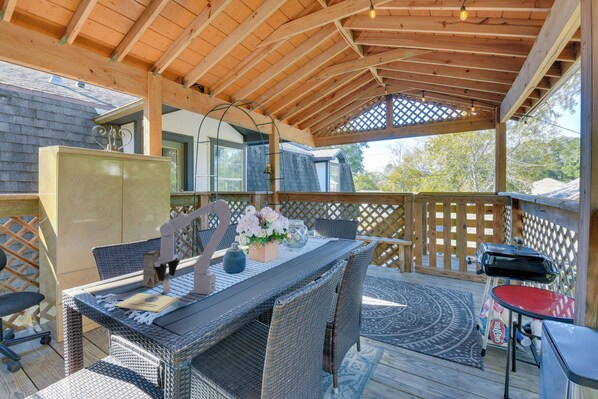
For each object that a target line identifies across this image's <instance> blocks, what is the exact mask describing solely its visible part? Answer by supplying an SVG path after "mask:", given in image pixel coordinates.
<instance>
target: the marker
mask: <svg viewBox="0 0 598 399" xmlns="http://www.w3.org/2000/svg"><path fill="white" fill-rule="evenodd" d="M171 278H172V277H171V275H170V274H169V273H166V274H165V278H164V281H163V283H162V286H163V290H162V292H163V294H169V293H170V292H171Z"/></svg>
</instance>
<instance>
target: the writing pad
mask: <svg viewBox="0 0 598 399" xmlns="http://www.w3.org/2000/svg"><path fill="white" fill-rule="evenodd" d="M179 300H181V297H177V296H168V295H161V294H151V293H142V292H139V293H136V294H134V295H132V296H130V297H128V298H127V299H125V300H122V301H120V302H118V303H116V304H114V305H113V307H114V306H118V307H117V308H124V309H131V310H138V311H146V312H151V313H152V312H154V313H160V312H162V311H163V310H165V309H167V308H168V307H169V306H171V305H173V304H174V303H176V302H177V301H179Z"/></svg>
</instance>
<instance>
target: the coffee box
mask: <svg viewBox="0 0 598 399" xmlns="http://www.w3.org/2000/svg"><path fill="white" fill-rule="evenodd" d="M160 250H161V249H153V250H150V251H147V252H144V253H143V259H142V260H143V262H142V265H143V266H142V270H143V272H142V275H143V276H142V277H143V278H142V285H143V287H148V288H155V287H157V286H160V285H163V281H159V279H158V276H157V273H156V271H155V269H154V268H153V266H154V265H155V262H156V261H157V260H159V259H158V258H159V257H160ZM163 265H164V266H167V265H168V263H165V264H163ZM167 267H168V266H167ZM165 274H167V270H166V271H165Z"/></svg>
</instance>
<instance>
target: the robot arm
mask: <svg viewBox="0 0 598 399" xmlns="http://www.w3.org/2000/svg"><path fill="white" fill-rule="evenodd" d="M230 212H231V211H230V206H229V204H228V202H227V201H226V200H225V199H222V198H220V199H217V200H216V201H211V202H209V203H206V204H205V205H203V206H201V207H199V208H197V209H195V210H194V211H192V212H191V213H188V214H187V213H179V214H178V215H177V216H176V217H174V218H173V219H171V218H170V219H169V220H168V221H167V222H164V223H163V224H162V225H160V227H159V232H160V249H159V250H160V257H159V258H158V259H159V260H157V261H156V262H155V265H154V266H153V268H154V269H155V271H156V273H157V276H158V279H159V281H164V278H165V271H166V272H167V268H168V274H170V275H171V276H172V277H174V276H175V274H176V271H177V267H178V266H179V264H180V261H181V260H180V259H179V254H175V232H177V231H180V230H182V229H184V228H185V227H187V226H189V225H191V222H192V221H193V220H195V219H197V218H199V217H201V216H204V215H205V214H207V213H208V214H213V213H215V214H216V215H217V217H218V220H219V223H218V224H217V227H215V230H214V232H213V233H212V235H211V238H210V240H209V241H208V243H207V245H206V247H205V248H204V250H203V252H202V254H201V255H200V256H199V257H197V258H196V260H195V263H194V265H193V270H194V271H193V289H191V290H190V291H189V293H190V294H199V295H200V294H201V295H209V294H211V293H212V292H214V291H215V290H216V289H217V288H216V278H217V277H216V273H214V272H211V270H210V268H209V266H210V263H211V260H212V258H213V256H214V253H215V252H216V250H217V249H218V246H219V245H220V243H221V241H222V239H223V237H224V235H225V234H226V232H227V230H228V228H229V227H230V224H231V220H232V219H231V213H230ZM165 263H167V265H168V266H164V265H163V264H165Z"/></svg>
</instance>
